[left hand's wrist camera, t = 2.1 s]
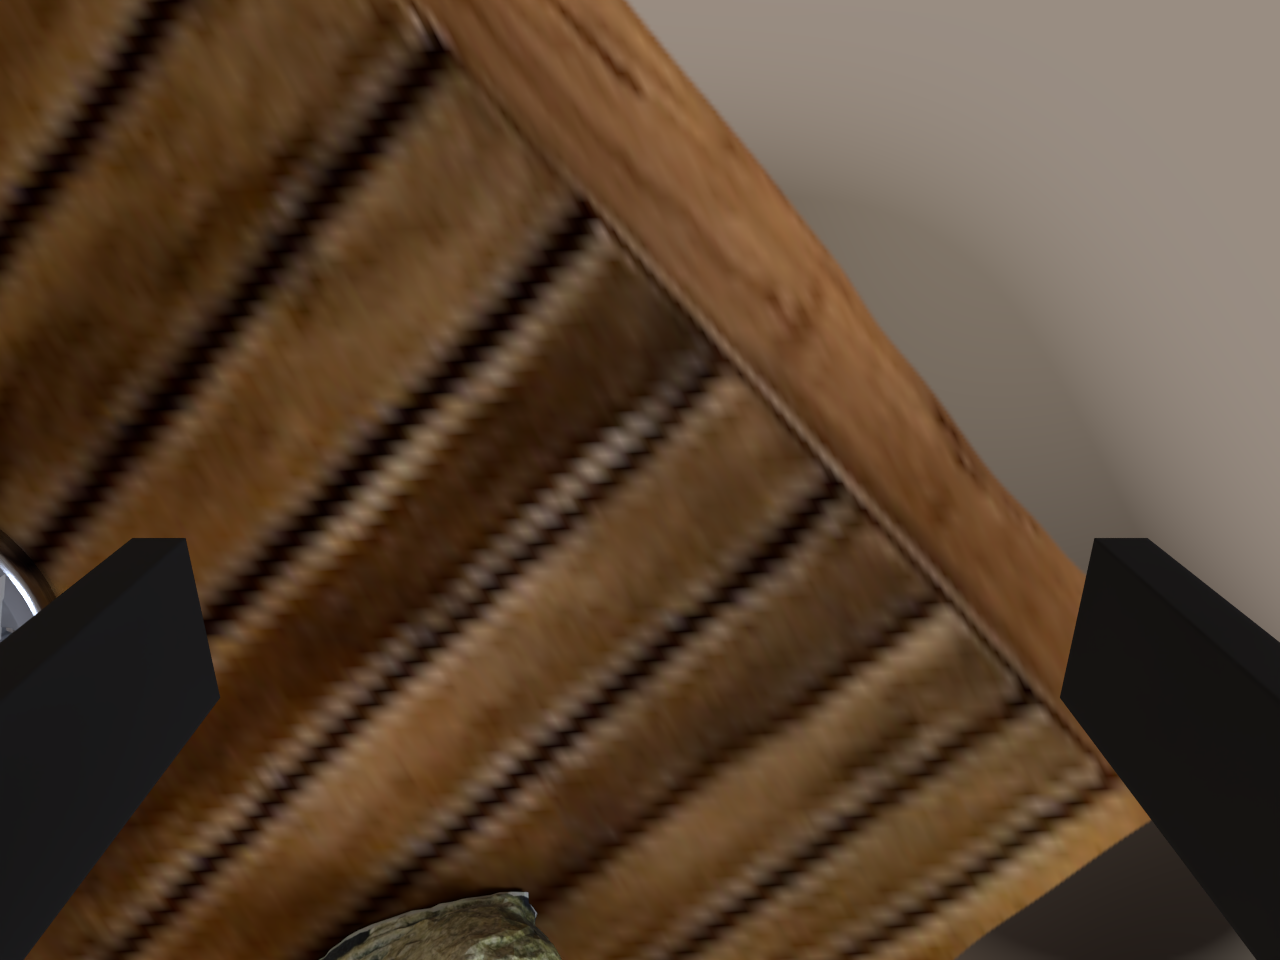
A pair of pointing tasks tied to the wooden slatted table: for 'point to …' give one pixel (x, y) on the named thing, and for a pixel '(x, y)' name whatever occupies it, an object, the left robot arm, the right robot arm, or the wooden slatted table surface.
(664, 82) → the wooden slatted table surface
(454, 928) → the fossil
